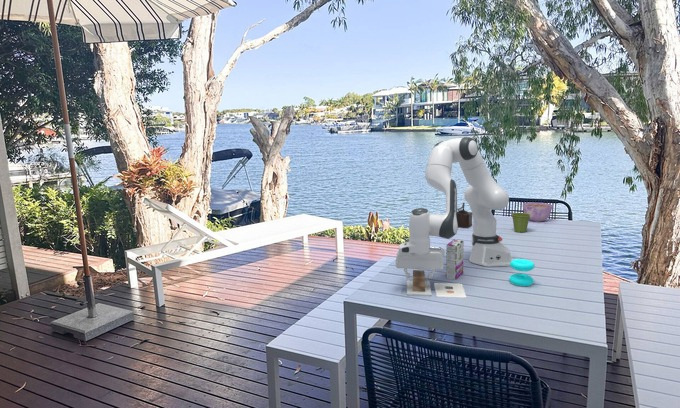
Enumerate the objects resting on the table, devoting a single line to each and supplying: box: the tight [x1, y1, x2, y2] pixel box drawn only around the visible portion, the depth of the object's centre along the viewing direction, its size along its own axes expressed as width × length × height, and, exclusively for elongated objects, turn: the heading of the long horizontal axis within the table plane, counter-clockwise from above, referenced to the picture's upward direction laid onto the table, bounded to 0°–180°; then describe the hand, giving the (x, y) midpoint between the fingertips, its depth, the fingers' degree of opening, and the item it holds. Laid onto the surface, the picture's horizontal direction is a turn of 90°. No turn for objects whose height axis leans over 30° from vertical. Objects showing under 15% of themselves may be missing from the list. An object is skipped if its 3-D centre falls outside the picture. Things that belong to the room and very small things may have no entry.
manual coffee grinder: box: [457, 202, 473, 229], centre depth 302 cm, size 16×11×18 cm
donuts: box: [508, 258, 536, 287], centre depth 194 cm, size 10×10×10 cm
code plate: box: [433, 282, 467, 298], centre depth 188 cm, size 12×16×1 cm
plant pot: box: [511, 212, 531, 233], centre depth 286 cm, size 12×12×11 cm
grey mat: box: [406, 280, 433, 297], centre depth 190 cm, size 10×16×1 cm, turn 172°
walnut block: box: [412, 269, 426, 292], centre depth 190 cm, size 5×10×6 cm, turn 172°
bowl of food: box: [522, 201, 554, 223], centre depth 317 cm, size 20×20×12 cm
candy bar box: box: [445, 238, 465, 280], centre depth 205 cm, size 11×5×16 cm, turn 148°
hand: (419, 278), depth 189 cm, fingers open, 8 cm apart
